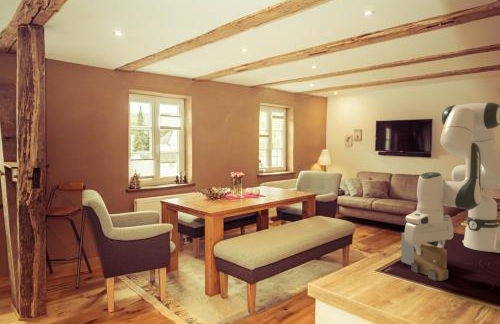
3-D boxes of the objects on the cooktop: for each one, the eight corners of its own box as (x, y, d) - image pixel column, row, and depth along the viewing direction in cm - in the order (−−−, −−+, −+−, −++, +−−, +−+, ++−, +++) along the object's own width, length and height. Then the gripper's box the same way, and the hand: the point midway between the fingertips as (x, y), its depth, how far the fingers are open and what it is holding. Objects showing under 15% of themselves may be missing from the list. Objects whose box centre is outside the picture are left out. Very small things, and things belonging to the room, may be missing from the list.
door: (419, 268, 134) (420, 240, 134) (446, 279, 123) (446, 249, 122) (411, 269, 133) (412, 242, 132) (437, 281, 122) (438, 250, 121)
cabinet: (427, 257, 147) (427, 229, 146) (443, 263, 139) (443, 234, 139) (401, 261, 142) (401, 232, 142) (416, 267, 135) (416, 237, 134)
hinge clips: (423, 268, 134) (423, 260, 134) (448, 278, 124) (448, 270, 124) (411, 270, 132) (411, 262, 132) (435, 280, 122) (435, 272, 122)
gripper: (443, 212, 133) (443, 247, 134) (401, 217, 127) (401, 253, 127) (458, 215, 127) (457, 252, 128) (415, 220, 121) (414, 258, 121)
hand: (429, 253), depth 128 cm, fingers open, 8 cm apart
